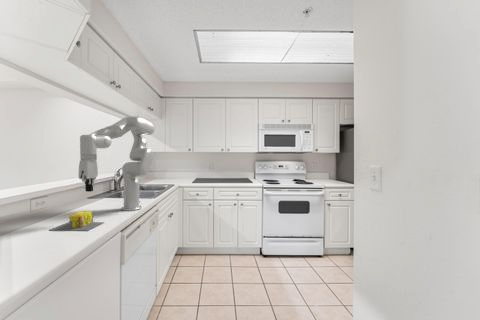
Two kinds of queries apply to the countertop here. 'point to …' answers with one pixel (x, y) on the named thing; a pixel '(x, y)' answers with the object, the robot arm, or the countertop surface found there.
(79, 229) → the topple mat
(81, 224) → the supplement box
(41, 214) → the countertop surface
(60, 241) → the countertop surface
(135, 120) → the robot arm
